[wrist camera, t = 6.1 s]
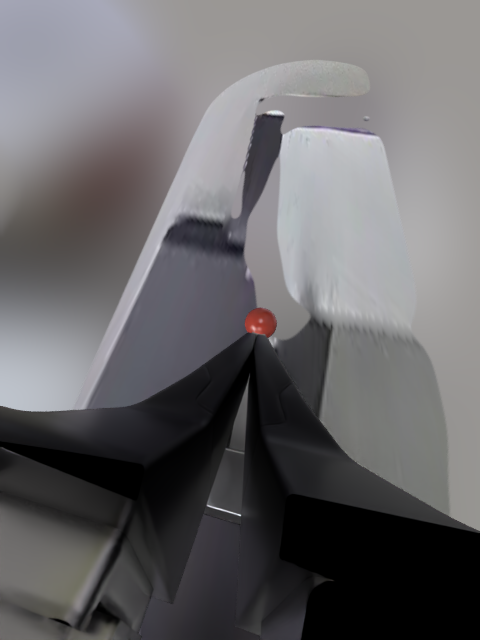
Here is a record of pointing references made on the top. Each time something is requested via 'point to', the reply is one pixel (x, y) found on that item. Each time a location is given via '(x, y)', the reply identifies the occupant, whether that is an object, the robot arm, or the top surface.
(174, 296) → the top surface
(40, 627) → the robot arm
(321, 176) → the top surface
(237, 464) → the lever
